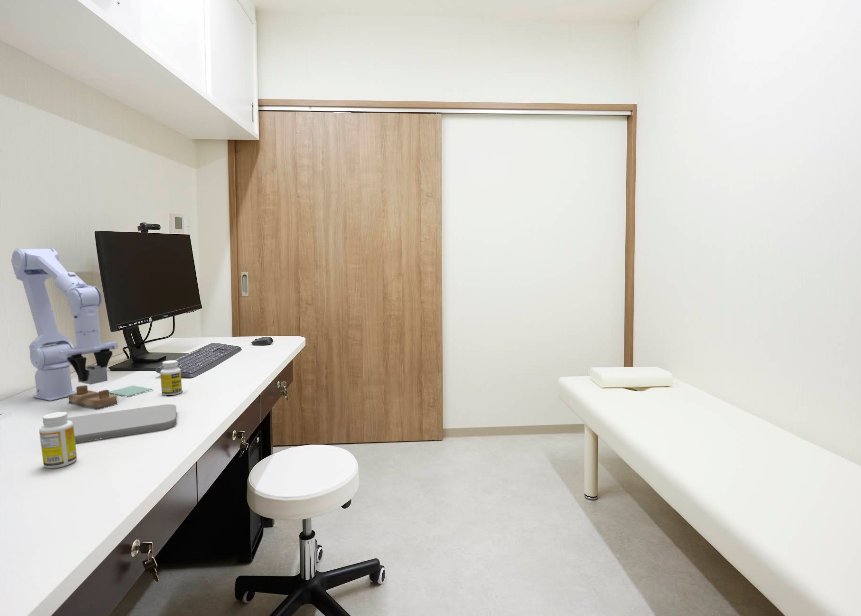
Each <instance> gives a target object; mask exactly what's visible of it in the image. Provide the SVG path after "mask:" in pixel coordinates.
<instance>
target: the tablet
mask: <svg viewBox="0 0 861 616" xmlns="http://www.w3.org/2000/svg"><path fill="white" fill-rule="evenodd" d="M68 421H71V422H72V423H73V427H74V436H75V444H77V443H76V442H79V443H83V442H82V441H86V442H90V441H89V440H92V441H96V440H95V439H99V440H101V439H100V438H105V439H109V438H108V437H112V438H116V437H115V436H118V437H124V436H123V435H125V436H132V435H137V434H143V433H144V434H145V433H150V432H156V431H162V430H168V429H169V428H172V427H173V426H174V422H175V421H177V405H176V404H171V403H170V404H159V405H151V406H144V407H138V408H137V407H135V408H131V409H129V408H128V409H122V410H116V411H108V412H107V411H106V412H100V413H93V414H85V415H78V416H70V417H68ZM121 435H122V436H121Z"/></svg>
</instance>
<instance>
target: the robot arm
mask: <svg viewBox="0 0 861 616" xmlns="http://www.w3.org/2000/svg"><path fill="white" fill-rule="evenodd" d="M10 260H11V265H12V269H13V272H14V275H15V279H17V280H19V281H21V282H22V284H23V288H24V292H25V294H26V295H25V296H26V299H27V302H28V306H29V309H30V312H31V316H32V319H33V323H34V326H35V330H36V334H37V337H36V338H35V339H34V340H32V341H31V343H30V344H29V345H28V347H29V359H30V363H31V365H32V366H33V367H34V368H36V369H37V371H36V372H35V373H34V380H35V381H34V382H35V383H34V384H35V388H36V389H35V390H36V391H35V392H36V394H34V395H33V398H36V399H40V400H46V401H54V400H55V401H56V400H59V399H62V398H67V397H68V398H69V396H68V395H70V394H74V393H77V391H75V390H73V385H72V377H71V367H70V366H72V367H73V369H74V371H75V373H76V375H77V379H78V378H79V381H83V382H84V381H86V370H85V368H86V366H87V365H86V364H87V357H85V356H83V355H88V354H92V353H93V355H94V357H95V358H94V359H95V362H96V365H99V366H105V367H106V368H108V365H109V363H110V362H109V361H110V359H111V358H112V356H113V351H112V350H117V349H119V346H118V345H119V344H118V342H117V341H109V342H102V337H101V336H102V335H101V327H100V325H101V324H100V316H99V307H100V306H101V304H102V301H103V297H102V295H103V294H102V292H101V290H100V289H99V287H98V286H95V285H88V284H87V283H86V282H85V281H84V280H82V278H81V277H79V276H78V274H76V273H75V272H74V271H67V270H66V268H65V267H64V266H63V264H62V263H61V261H60V257H59V252H58V251H56V249H54V248H53V247H48V248H19V247H18V248H15V250H14V251H13V252H12V254H11V259H10ZM50 278H53V279H54V280H55V281H54V282H55V283H54V285H55V286H56V288H57V289H58V290H59V291H60V292H61V293H62V294H63V295H64V296H65V297H67V298H66V301H67V302H66V303H67V305H68V307H69V309H70V314H71V315H72V316H73V323H74V333H75V344H76V346H74V345H73V342H72V341H71V339H70V336H67V335H65V334H63V333H61V332H59V328H58V325H57V321H56V317H55V315H54V311H53V308H52V305H51V301H50V297H49V294H48V293H49V292H48V290H47V287H46V284H45V282H46V280H49V279H50Z"/></svg>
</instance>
